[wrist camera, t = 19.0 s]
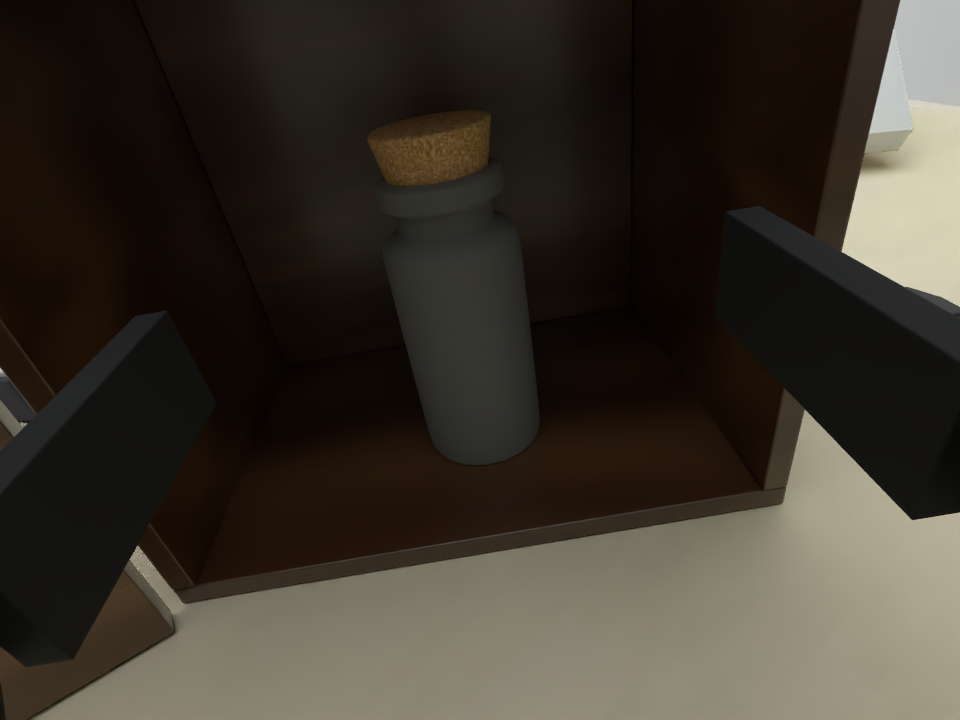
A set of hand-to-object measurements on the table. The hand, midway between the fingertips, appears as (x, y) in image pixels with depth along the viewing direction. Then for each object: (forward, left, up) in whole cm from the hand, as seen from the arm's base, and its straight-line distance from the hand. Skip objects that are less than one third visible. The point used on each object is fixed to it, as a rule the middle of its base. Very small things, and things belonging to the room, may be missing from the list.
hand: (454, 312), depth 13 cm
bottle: (+8, -6, -12) cm, 16 cm away
